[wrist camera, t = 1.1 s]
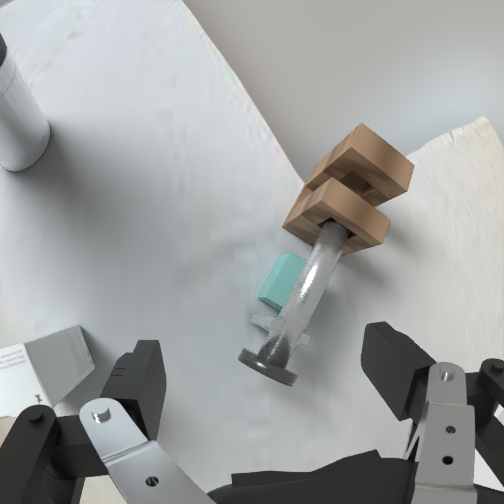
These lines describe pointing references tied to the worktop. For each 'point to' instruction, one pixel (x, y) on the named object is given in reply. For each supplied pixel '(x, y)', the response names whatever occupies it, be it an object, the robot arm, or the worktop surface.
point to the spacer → (281, 280)
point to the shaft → (297, 307)
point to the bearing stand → (351, 190)
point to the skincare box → (42, 370)
